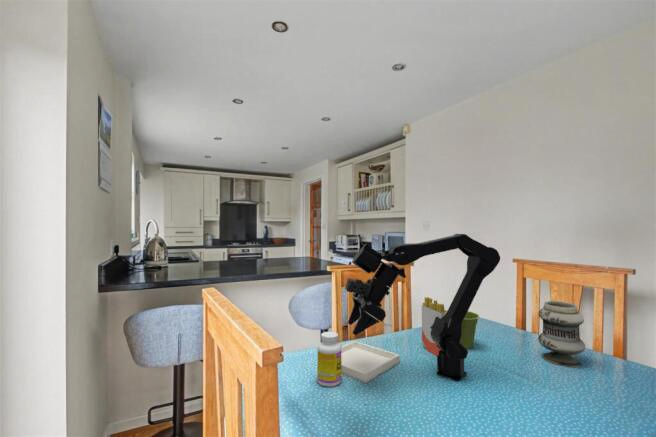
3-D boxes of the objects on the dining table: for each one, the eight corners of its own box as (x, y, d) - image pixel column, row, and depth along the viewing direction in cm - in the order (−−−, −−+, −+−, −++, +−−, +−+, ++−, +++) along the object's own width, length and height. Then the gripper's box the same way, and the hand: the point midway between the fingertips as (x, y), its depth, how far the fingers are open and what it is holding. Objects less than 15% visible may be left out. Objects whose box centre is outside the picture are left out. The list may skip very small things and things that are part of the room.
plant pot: (449, 337, 121) (448, 308, 121) (482, 344, 114) (482, 313, 114) (439, 347, 111) (439, 315, 112) (476, 354, 104) (475, 320, 105)
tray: (399, 362, 98) (399, 354, 98) (366, 383, 85) (366, 374, 85) (354, 347, 110) (354, 340, 110) (318, 363, 97) (318, 356, 97)
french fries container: (432, 345, 112) (432, 295, 113) (453, 357, 102) (452, 302, 103) (421, 347, 111) (421, 296, 112) (441, 359, 101) (440, 303, 101)
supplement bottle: (339, 389, 82) (339, 339, 82) (314, 386, 83) (314, 337, 84) (343, 377, 89) (343, 331, 89) (320, 374, 90) (320, 329, 90)
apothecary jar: (543, 364, 97) (542, 306, 98) (534, 350, 108) (533, 298, 109) (592, 371, 92) (590, 310, 93) (577, 356, 104) (576, 301, 104)
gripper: (353, 263, 99) (325, 305, 98) (364, 271, 80) (330, 323, 79) (382, 282, 99) (355, 324, 98) (400, 295, 81) (366, 347, 80)
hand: (351, 328), depth 89 cm, fingers open, 9 cm apart
